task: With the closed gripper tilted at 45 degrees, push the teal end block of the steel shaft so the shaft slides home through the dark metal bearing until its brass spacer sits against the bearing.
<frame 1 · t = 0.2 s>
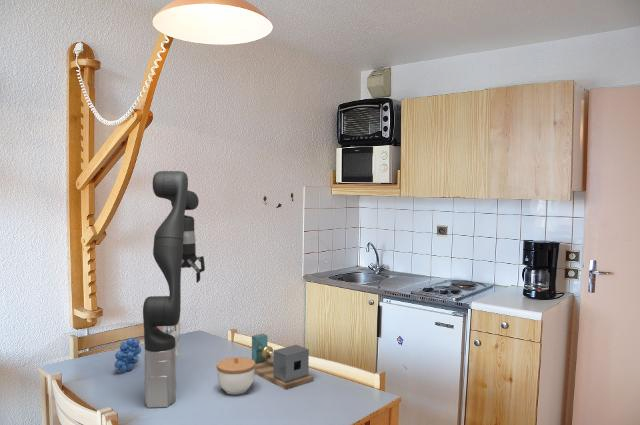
hand: (186, 282, 198), 29 cm above the table, tool pointing down, fingers open, 8 cm apart
base board: (277, 374, 179), on the table
lidded bowl: (236, 390, 165), on the table
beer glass: (171, 355, 198), on the table
shaft: (271, 353, 181), point 7 cm above the table, slide at 0.0 cm
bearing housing: (291, 363, 173), on the base board, point 6 cm above the table
grapes: (126, 371, 181), on the table
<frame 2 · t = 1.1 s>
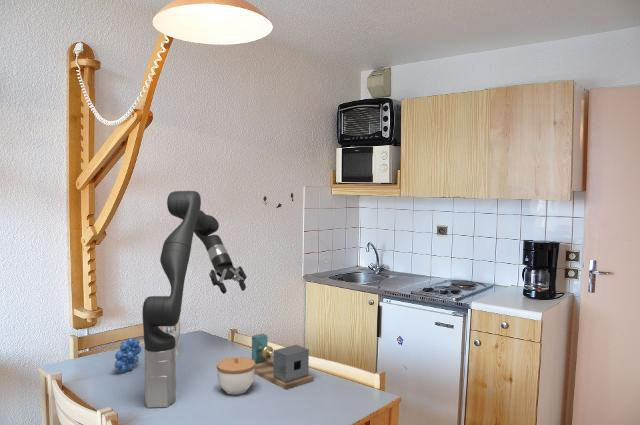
hand: (234, 291, 193), 27 cm above the table, tool tilted 45°, fingers open, 8 cm apart
nothing on the table moved.
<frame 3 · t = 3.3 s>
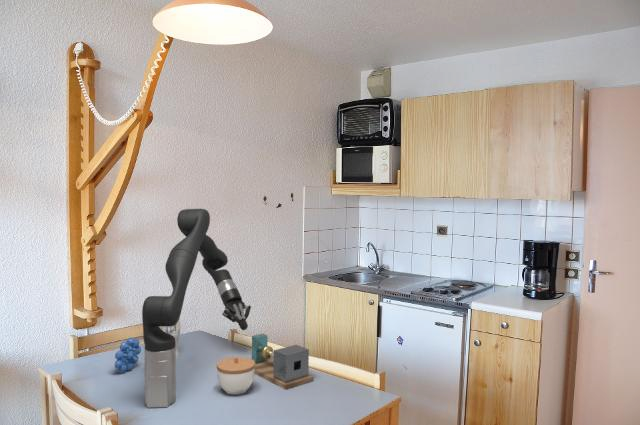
hand: (245, 328, 195), 12 cm above the table, tool tilted 45°, fingers closed
nothing on the table moved.
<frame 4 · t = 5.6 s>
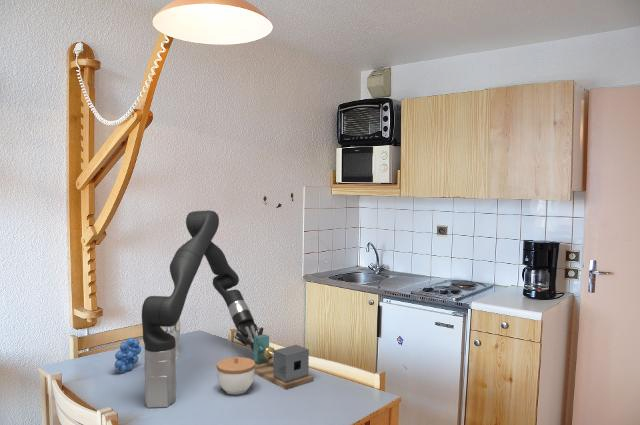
hand: (257, 352, 188), 5 cm above the table, tool tilted 45°, fingers closed
shaft: (273, 354, 180), point 7 cm above the table, slide at 1.1 cm, touching gripper
everything else where it was.
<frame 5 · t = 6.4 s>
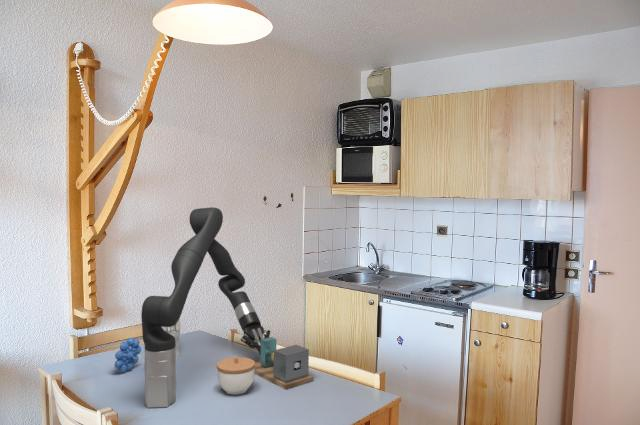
hand: (264, 355, 185), 5 cm above the table, tool tilted 45°, fingers closed
shaft: (281, 357, 177), point 7 cm above the table, slide at 5.8 cm, touching gripper
everything else where it was.
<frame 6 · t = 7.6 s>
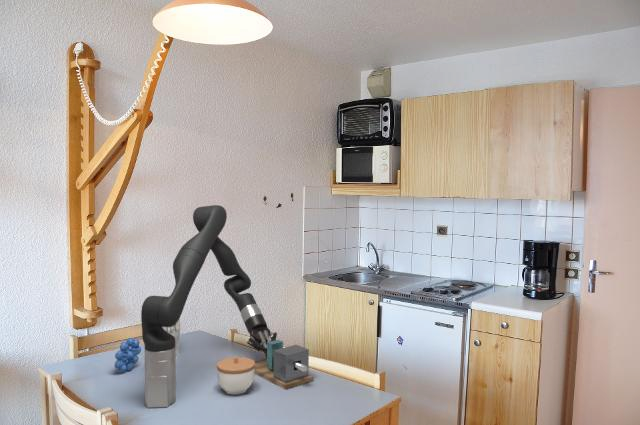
hand: (271, 358, 181), 5 cm above the table, tool tilted 45°, fingers closed
shaft: (288, 360, 174), point 7 cm above the table, slide at 10.0 cm, touching gripper
everything else where it was.
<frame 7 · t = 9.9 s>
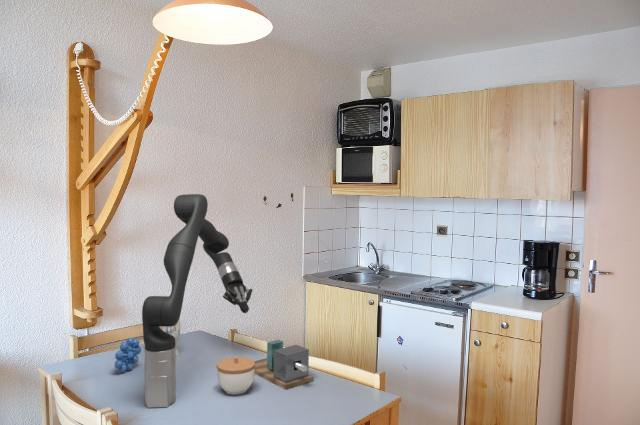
hand: (246, 311, 190), 20 cm above the table, tool tilted 45°, fingers closed
shaft: (288, 360, 174), point 7 cm above the table, slide at 10.0 cm
everything else where it was.
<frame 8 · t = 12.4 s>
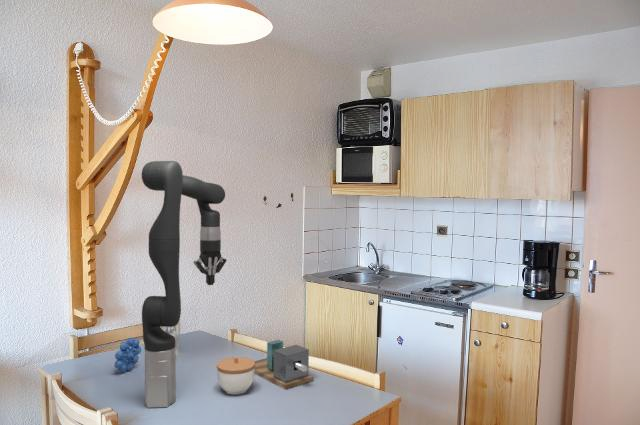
hand: (210, 284, 185), 31 cm above the table, tool pointing down, fingers closed
nothing on the table moved.
at the end: shaft slide at 10.0 cm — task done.
